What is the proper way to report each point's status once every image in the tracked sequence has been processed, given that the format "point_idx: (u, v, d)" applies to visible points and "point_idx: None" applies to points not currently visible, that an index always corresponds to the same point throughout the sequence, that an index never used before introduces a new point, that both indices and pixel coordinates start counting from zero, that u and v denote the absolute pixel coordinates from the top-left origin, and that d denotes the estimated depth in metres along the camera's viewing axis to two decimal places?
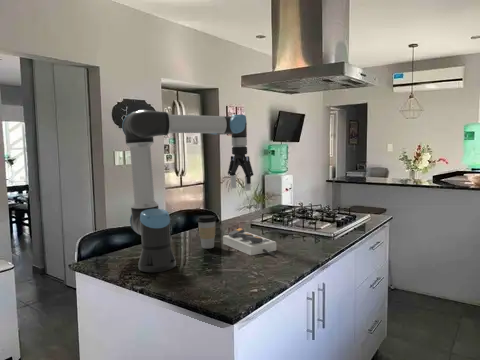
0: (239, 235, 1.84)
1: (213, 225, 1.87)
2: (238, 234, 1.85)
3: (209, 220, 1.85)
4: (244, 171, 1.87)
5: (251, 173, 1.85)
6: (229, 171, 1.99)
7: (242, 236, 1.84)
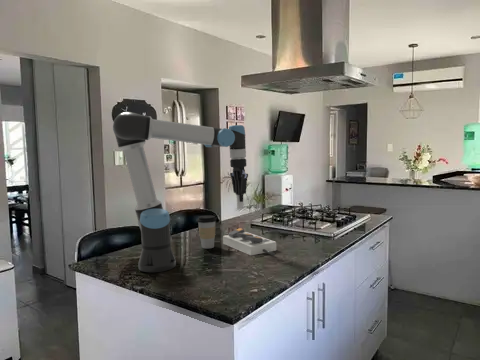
0: (239, 235, 1.84)
1: (213, 225, 1.87)
2: (238, 234, 1.85)
3: (209, 220, 1.85)
4: (238, 188, 1.82)
5: (244, 192, 1.81)
6: (234, 189, 1.85)
7: (242, 236, 1.84)
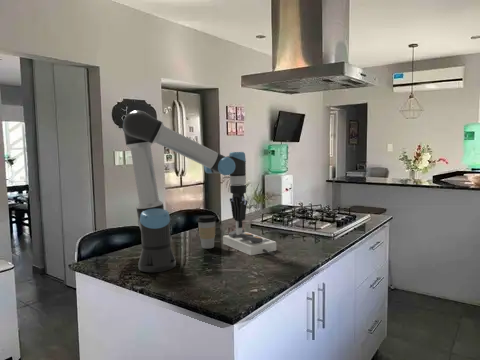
0: (239, 235, 1.84)
1: (213, 225, 1.87)
2: None
3: (209, 220, 1.85)
4: (237, 214, 1.83)
5: (243, 218, 1.81)
6: (233, 214, 1.86)
7: (242, 236, 1.84)
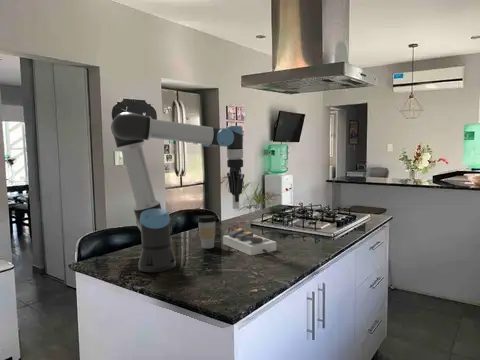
0: (239, 238, 1.84)
1: (213, 225, 1.87)
2: (238, 237, 1.85)
3: (209, 220, 1.85)
4: (234, 188, 1.83)
5: (239, 192, 1.82)
6: (230, 189, 1.87)
7: (242, 238, 1.84)
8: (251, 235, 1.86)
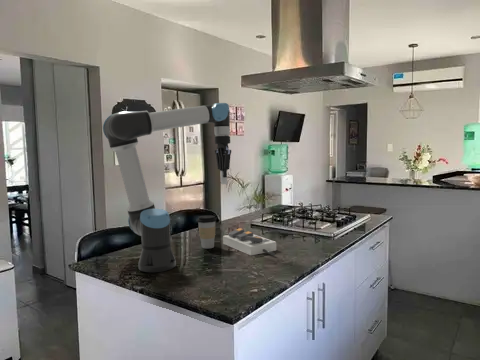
0: (239, 238, 1.84)
1: (213, 225, 1.87)
2: (238, 237, 1.85)
3: (209, 220, 1.85)
4: (222, 164, 1.88)
5: (227, 168, 1.87)
6: (218, 165, 1.92)
7: (242, 238, 1.84)
8: (251, 235, 1.86)
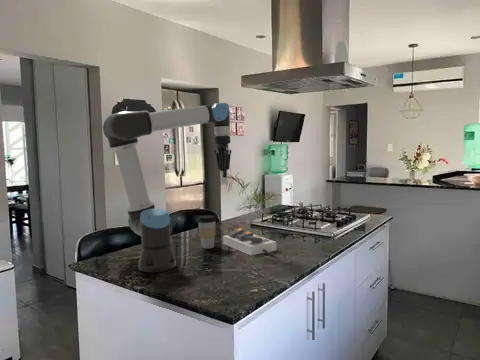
0: (239, 238, 1.84)
1: (213, 225, 1.87)
2: (238, 237, 1.85)
3: (209, 220, 1.85)
4: (222, 164, 1.88)
5: (227, 168, 1.87)
6: (218, 165, 1.92)
7: (242, 238, 1.84)
8: (251, 235, 1.86)
